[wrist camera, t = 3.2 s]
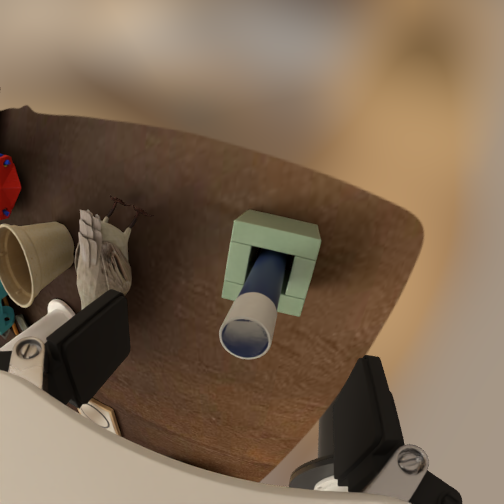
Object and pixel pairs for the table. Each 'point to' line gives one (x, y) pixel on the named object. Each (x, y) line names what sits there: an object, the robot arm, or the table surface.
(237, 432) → the table surface
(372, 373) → the robot arm
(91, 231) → the decorative bird
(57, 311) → the candle
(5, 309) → the teal mechanical bracket
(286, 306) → the pen stand
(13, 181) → the toy train
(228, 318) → the marker
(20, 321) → the stone
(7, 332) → the toy gun
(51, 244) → the flower pot
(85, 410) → the framed picture
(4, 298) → the pencil
